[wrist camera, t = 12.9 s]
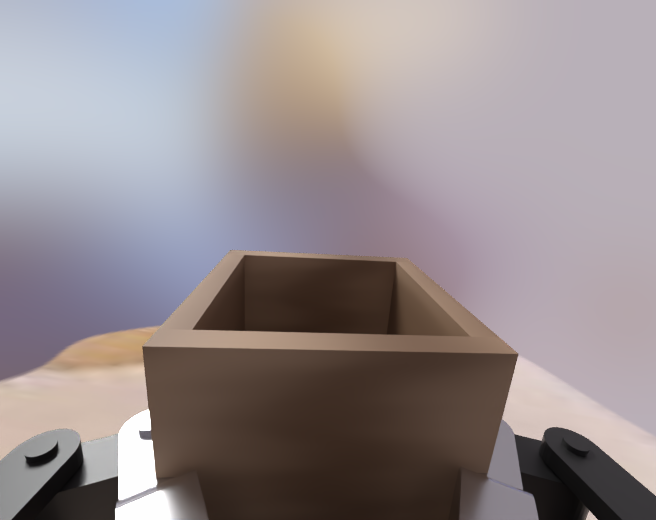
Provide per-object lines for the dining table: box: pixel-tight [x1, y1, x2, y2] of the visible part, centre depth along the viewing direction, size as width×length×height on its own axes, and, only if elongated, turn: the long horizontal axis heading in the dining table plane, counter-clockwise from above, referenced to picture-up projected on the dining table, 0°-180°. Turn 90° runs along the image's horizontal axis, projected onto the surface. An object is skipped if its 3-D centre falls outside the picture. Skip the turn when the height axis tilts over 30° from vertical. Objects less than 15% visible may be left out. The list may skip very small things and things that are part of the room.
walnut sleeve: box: [142, 250, 518, 520], centre depth 10 cm, size 7×7×10 cm
